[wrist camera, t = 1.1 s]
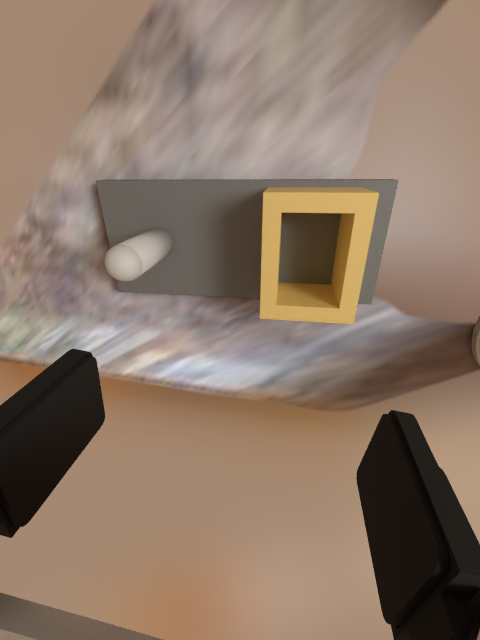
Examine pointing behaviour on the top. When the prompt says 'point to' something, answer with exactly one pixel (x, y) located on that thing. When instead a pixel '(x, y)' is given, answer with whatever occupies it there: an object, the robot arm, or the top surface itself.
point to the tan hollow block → (349, 258)
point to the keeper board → (224, 236)
